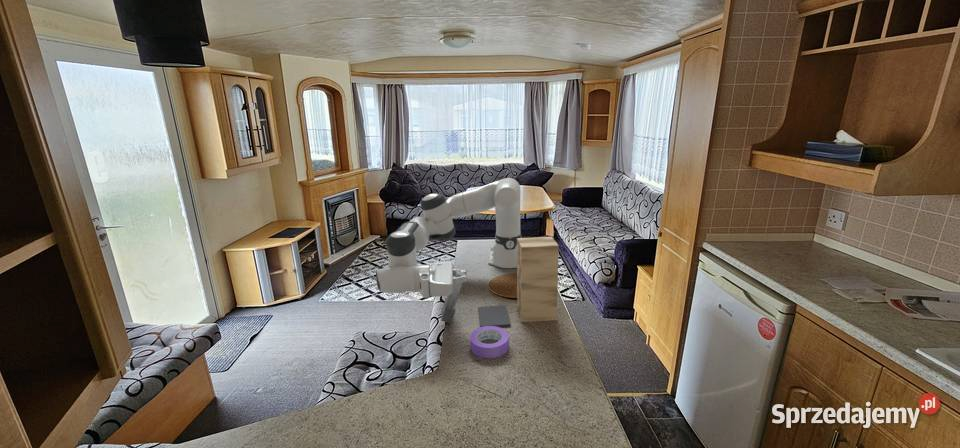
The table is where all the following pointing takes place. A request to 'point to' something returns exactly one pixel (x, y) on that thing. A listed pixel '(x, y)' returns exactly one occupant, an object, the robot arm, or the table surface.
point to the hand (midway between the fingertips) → (466, 275)
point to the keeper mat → (494, 316)
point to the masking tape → (489, 349)
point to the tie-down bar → (451, 301)
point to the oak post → (537, 278)
